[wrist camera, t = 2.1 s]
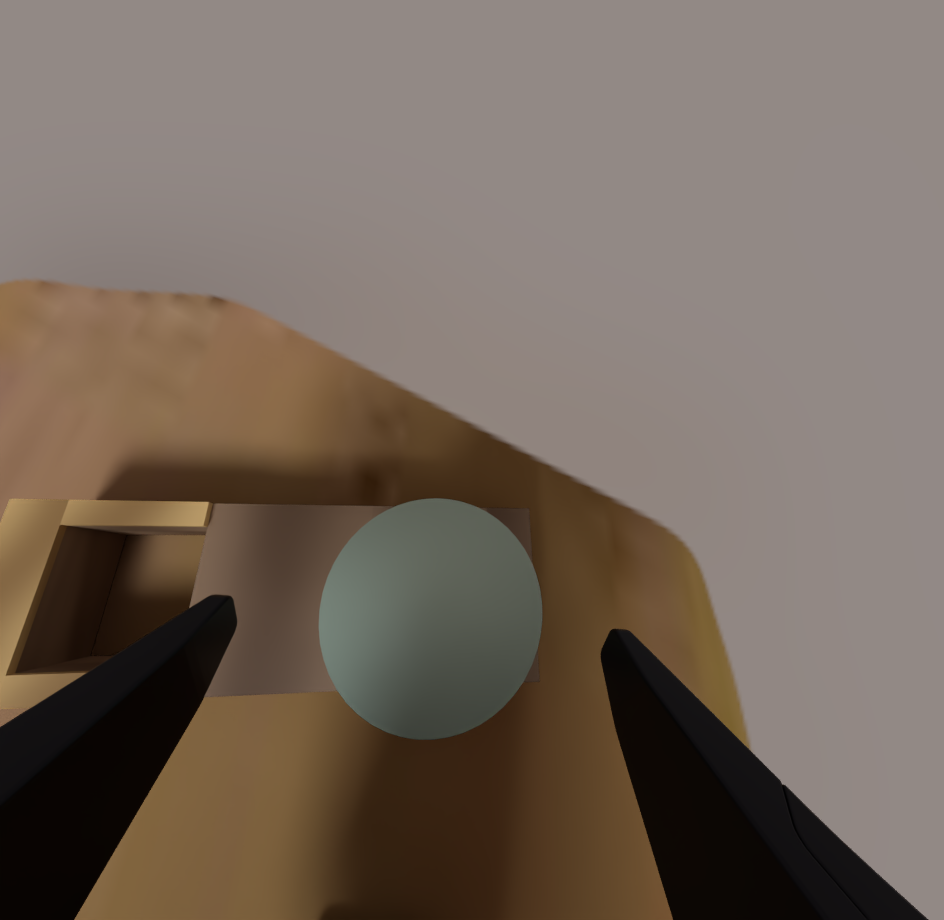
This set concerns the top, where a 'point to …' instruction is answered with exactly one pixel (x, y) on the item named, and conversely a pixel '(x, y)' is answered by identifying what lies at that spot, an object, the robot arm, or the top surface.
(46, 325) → the top surface
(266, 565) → the brown slotted board
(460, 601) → the post
